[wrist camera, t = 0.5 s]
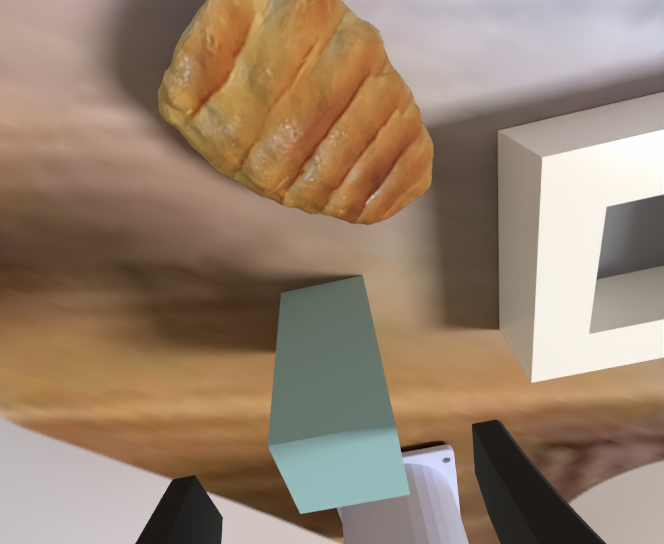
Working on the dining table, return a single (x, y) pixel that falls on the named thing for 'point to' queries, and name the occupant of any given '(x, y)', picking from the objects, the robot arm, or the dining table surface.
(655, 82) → the dining table surface
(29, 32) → the dining table surface
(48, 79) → the dining table surface
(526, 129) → the well
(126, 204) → the dining table surface
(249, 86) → the pastry
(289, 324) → the post
